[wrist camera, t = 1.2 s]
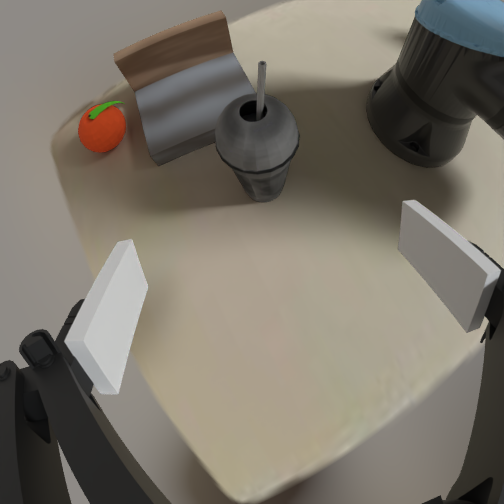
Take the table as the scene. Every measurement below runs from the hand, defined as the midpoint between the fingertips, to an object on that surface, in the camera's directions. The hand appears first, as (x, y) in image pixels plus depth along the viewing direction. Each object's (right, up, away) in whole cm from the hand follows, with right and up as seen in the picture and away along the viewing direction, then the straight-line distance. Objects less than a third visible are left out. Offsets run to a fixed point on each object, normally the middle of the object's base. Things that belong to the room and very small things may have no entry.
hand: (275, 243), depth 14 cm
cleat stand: (-8, +19, +25) cm, 33 cm away
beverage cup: (0, +8, +23) cm, 24 cm away
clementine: (-21, +16, +26) cm, 37 cm away
